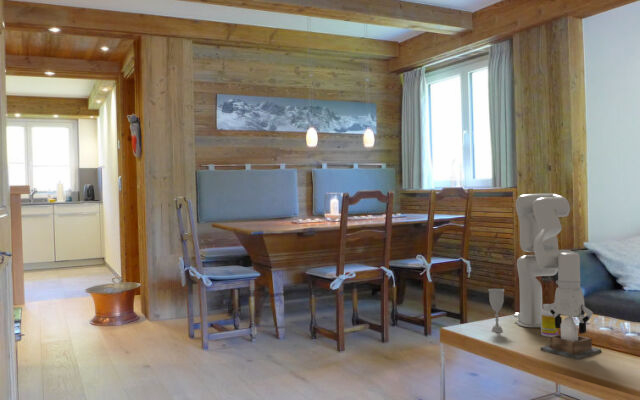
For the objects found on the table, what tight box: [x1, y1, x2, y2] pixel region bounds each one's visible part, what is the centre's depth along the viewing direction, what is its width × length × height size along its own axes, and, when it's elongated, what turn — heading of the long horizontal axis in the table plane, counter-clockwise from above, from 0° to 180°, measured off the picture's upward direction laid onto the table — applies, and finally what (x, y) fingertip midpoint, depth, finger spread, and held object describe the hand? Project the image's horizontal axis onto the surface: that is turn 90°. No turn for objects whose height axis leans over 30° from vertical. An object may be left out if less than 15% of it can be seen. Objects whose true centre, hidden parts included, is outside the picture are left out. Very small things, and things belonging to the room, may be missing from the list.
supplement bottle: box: [540, 303, 559, 338], centre depth 225 cm, size 7×7×13 cm
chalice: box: [487, 288, 505, 333], centre depth 234 cm, size 7×7×18 cm
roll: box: [560, 316, 579, 342], centre depth 203 cm, size 6×12×6 cm
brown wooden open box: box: [540, 333, 602, 360], centre depth 203 cm, size 15×15×5 cm
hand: (570, 330), depth 203 cm, fingers open, 9 cm apart
